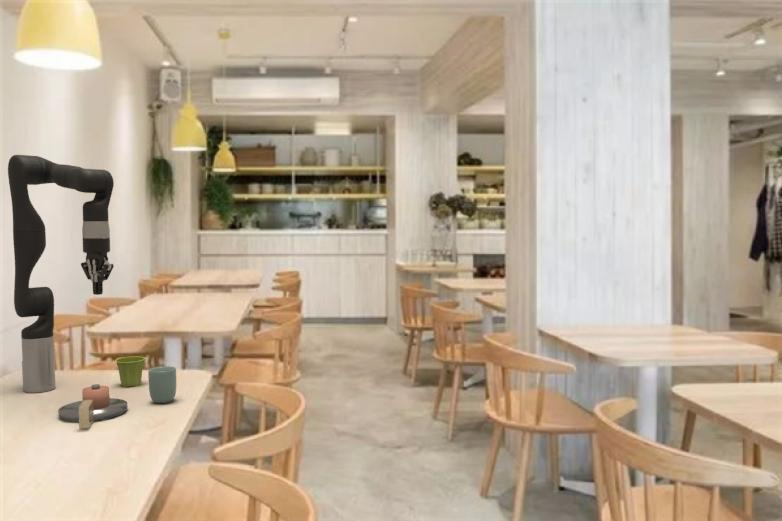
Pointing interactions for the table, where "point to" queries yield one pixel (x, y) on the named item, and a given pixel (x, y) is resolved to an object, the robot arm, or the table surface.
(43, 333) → the robot arm
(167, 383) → the cup
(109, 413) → the platter
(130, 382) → the plant pot
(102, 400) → the cap
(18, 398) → the table surface
